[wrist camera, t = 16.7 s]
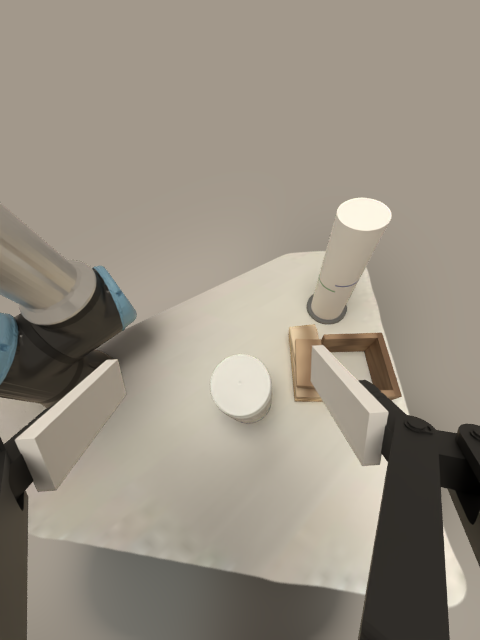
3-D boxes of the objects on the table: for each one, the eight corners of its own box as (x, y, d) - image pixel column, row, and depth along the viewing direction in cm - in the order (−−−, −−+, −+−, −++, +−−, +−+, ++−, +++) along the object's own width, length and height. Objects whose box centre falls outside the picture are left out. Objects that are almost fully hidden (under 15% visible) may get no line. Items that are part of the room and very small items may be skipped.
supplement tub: (225, 377, 49) (209, 354, 36) (269, 373, 48) (267, 348, 35) (226, 426, 44) (207, 419, 31) (274, 423, 43) (275, 414, 31)
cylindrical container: (342, 321, 51) (393, 231, 29) (310, 317, 53) (336, 229, 31) (342, 296, 54) (389, 198, 33) (312, 293, 56) (337, 197, 34)
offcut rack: (293, 402, 45) (296, 396, 39) (287, 333, 52) (289, 319, 46) (383, 403, 43) (401, 396, 36) (363, 331, 50) (376, 315, 44)
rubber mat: (301, 316, 54) (301, 315, 53) (313, 288, 57) (313, 287, 57) (340, 329, 51) (340, 328, 50) (350, 298, 54) (350, 297, 54)
